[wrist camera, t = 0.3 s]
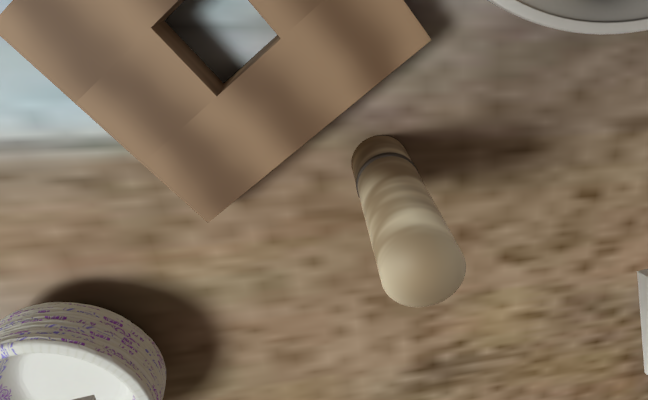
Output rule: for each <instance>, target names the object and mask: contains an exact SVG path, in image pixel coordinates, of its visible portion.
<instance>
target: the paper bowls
mask: <svg viewBox="0 0 648 400" xmlns="http://www.w3.org/2000/svg"><path fill="white" fill-rule="evenodd" d="M165 386H166V367H165V362H164V360H163V356H162V355H161V352H160V350H159V349H158V347H157V346H156V344H155V342H153V340H152V339H151V338H150V337H149V336H148V335H147V334H146V333H144V331H143V330H141V329H140V328H139V327H138V326H136V325H135V324H133V323H132V322H131V321H130V320H127V319H126V318H124V317H123V316H121V315H118V314H116V313H114V312H112V311H109V310H107V309H104V308H101V307H97V306H93V305H88V304H80V303H73V302H47V303H42V304H37V305H34V306H29V307H26V308H23V309H20V310H18V311H15V312H13V313H11V314H9V315H8V316H6V317H5V318H3V319H2V320H0V400H73V399H77V398H81V397H86V396H90V395H95V398H96V400H163V397H164V391H165Z"/></svg>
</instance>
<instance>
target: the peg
mask: <svg viewBox="0 0 648 400" xmlns="http://www.w3.org/2000/svg"><path fill="white" fill-rule="evenodd" d="M352 170H353V174H354V178H355V182H356V188H357V192H358V196H359V198H360V201H361V205H362V209H363V213H364V217H365V221H366V224H367V228H368V232H369V236H370V240H371V244H372V248H373V252H374V255H375V259H376V263H377V267H378V271H379V275H380V279H381V283H382V286H383V288H384V290H385V292H386V293H387V294H388V296H389V297H391V298H392V299H393V300H394V301H396V302H398V303H400V304H402V305H405V306H410V307H427V306H431V305H435V304H437V303H440V302H442V301H444V300H445V299H447V298H448V297H450V296H451V295H452V294H453V293H454V292H455V291H456V290H457V289H458V288H459V286H460V285H461V283H462V281H463V279H464V276H465V272H466V262H465V258H464V256H463V254H462V252H461V250H460V248H459V246H458V244H457V243H456V241H455V239H454V237H453V235H452V234H451V232H450V230H449V228H448V226H447V224H446V223H445V221H444V219H443V217H442V215H441V214H440V212H439V210H438V208H437V206H436V204H435V203H434V201H433V199H432V197H431V195H430V193H429V192H428V190H427V188H426V186H425V184H424V183H423V181H422V179H421V177H420V175H419V172H418V170H417V168H416V167H415V165H414V163H413V162H412V161H411V159H410V157H409V155H408V153H407V152H406V150H405V148H404V146H403V145H402V144H401V143H400V142H399V141H398V140H396V139H395V138H392V137H390V136H384V135H379V136H373V137H370V138H368V139H366V140H365V141H363V142H362V143H361V144H360V145H359V146H358V147H357V148H356V150H355V152H354V154H353V156H352Z"/></svg>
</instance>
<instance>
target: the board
mask: <svg viewBox="0 0 648 400" xmlns="http://www.w3.org/2000/svg"><path fill="white" fill-rule="evenodd" d="M183 1H184V0H13V1H12V2H11V3H10V4H9V5H8V6H7V8H6V9H5V10H4V11H3V12H2V13H1V14H0V36H1V37H2V38H3V39H4V40H5V41H7V42H8V43H9V44H10V45H11V46H12V47H13V48H14V49H15V50H17V51H18V52H19V53H20V54H21V55H22V56H23V57H24V58H25V59H27V60H28V61H29V62H30V63H31V64H32V65H33V66H34V67H35V68H37V69H38V70H39V71H40V72H41V73H42V74H43V75H44V76H45V77H47V78H48V79H49V80H50V81H51V82H52V83H53V84H54V85H55V86H56V87H58V88H59V89H60V90H61V91H62V92H63V93H64V94H65V95H66V96H68V97H69V98H70V99H71V100H72V101H73V102H74V103H75V104H76V105H78V106H79V107H80V108H81V109H82V110H83V111H84V112H85V113H86V114H88V115H89V116H90V117H91V118H92V119H93V120H94V121H95V122H96V123H98V124H99V125H100V126H101V127H102V128H103V129H104V130H105V131H106V132H108V133H109V134H110V135H111V136H112V137H113V138H114V139H115V140H116V141H118V142H119V143H120V144H121V145H122V146H123V147H124V148H125V149H126V150H128V151H129V152H130V153H131V154H132V155H133V156H134V157H135V158H136V159H138V160H139V161H140V162H141V163H142V164H143V165H144V166H145V167H146V168H148V169H149V170H150V171H151V172H152V173H153V174H154V175H155V176H156V177H158V178H159V179H160V180H161V181H162V182H163V183H164V184H165V185H166V186H168V187H169V188H170V189H171V190H172V191H173V192H174V193H175V194H176V195H178V196H179V197H180V198H181V199H182V200H183V201H184V202H185V203H186V204H188V205H189V206H190V207H191V208H192V209H193V210H194V211H195V212H196V213H198V214H199V215H200V216H201V217H202V218H203V219H204V220H205V221H206V222H210V221H211V220H212V219H213V218H214V217H216V216H217V215H218V214H219V213H221V212H222V211H223V210H224V209H225V208H227V207H228V206H229V205H230V204H232V203H233V202H234V201H235V200H236V199H238V198H239V197H240V196H241V195H243V194H244V193H245V192H246V191H247V190H249V189H250V188H251V187H252V186H254V185H255V184H256V183H257V182H258V181H260V180H261V179H262V178H263V177H264V176H266V175H267V174H268V173H269V172H271V171H272V170H273V169H274V168H275V167H277V166H278V165H279V164H280V163H282V162H283V161H284V160H285V159H286V158H288V157H289V156H290V155H291V154H293V153H294V152H295V151H296V150H297V149H299V148H300V147H301V146H302V145H304V144H305V143H306V142H307V141H308V140H310V139H311V138H312V137H313V136H315V135H316V134H317V133H318V132H319V131H321V130H322V129H323V128H324V127H326V126H327V125H328V124H329V123H330V122H332V121H333V120H334V119H335V118H337V117H338V116H339V115H340V114H341V113H343V112H344V111H345V110H346V109H348V108H349V107H350V106H351V105H352V104H354V103H355V102H356V101H357V100H359V99H360V98H361V97H362V96H363V95H365V94H366V93H367V92H368V91H370V90H371V89H372V88H373V87H374V86H376V85H377V84H378V83H379V82H381V81H382V80H383V79H384V78H385V77H387V76H388V75H389V74H390V73H392V72H393V71H394V70H395V69H396V68H398V67H399V66H400V65H401V64H403V63H404V62H405V61H406V60H407V59H409V58H410V57H411V56H412V55H414V54H415V53H416V52H417V51H418V50H420V49H421V48H422V47H423V46H425V45H426V44H427V43H428V42H429V41H431V38H430V37H429V36H428V34H427V33H426V31H425V30H424V29H423V27H422V26H421V24H420V23H419V22H418V20H417V19H416V17H415V16H414V14H413V13H412V12H411V10H410V9H409V7H408V6H407V5H406V3H405V2H404V0H248V1H249V2H250V3H251V4H252V5H253V6H254V8H255V9H256V10H257V11H258V12H259V14H260V15H261V16H262V17H263V18H264V19H265V21H266V22H267V23H268V24H269V25H270V26H271V28H272V29H273V30H274V31H275V32H276V34H277V36H276V37H275V38H274V39H272V40H271V41H270V42H269V43H268V44H267V45H266V46H265V47H264V48H263V49H261V50H260V51H259V52H258V53H257V54H256V55H255V56H254V57H253V58H252V59H250V60H249V61H248V62H247V63H246V64H245V65H244V66H243V67H242V68H241V69H239V70H238V71H237V72H236V73H235V74H234V75H233V76H232V77H231V78H230V79H228V80H227V81H226V82H225V83H223V82H222V81H221V80H220V79H219V78H218V77H217V76H216V75H215V74H214V73H213V72H212V71H211V70H210V68H209V67H208V66H207V65H206V64H205V63H204V62H203V61H202V60H201V59H200V58H199V57H198V56H197V55H196V54H195V53H194V52H193V50H192V49H191V48H190V47H189V46H188V45H187V44H186V43H185V42H184V41H183V40H182V39H181V38H180V37H179V36H178V35H177V33H176V32H175V31H174V30H173V29H172V28H171V27H170V26H169V25H168V24H167V23H166V22H165V21H164V20H165V19H166V18H167V17H168V16H169V15H170V14H171V13H172V12H173V11H174V10H175V9H176V8H177V7H178V6H179V5H180V4H181V3H182V2H183Z"/></svg>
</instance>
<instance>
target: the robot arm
mask: <svg viewBox="0 0 648 400" xmlns="http://www.w3.org/2000/svg"><path fill="white" fill-rule="evenodd" d="M637 274H638V288H639V302H640V315H641V329H642V343H643V356H644V370H645V373H646V374H647V375H648V269H645V270H641V271H637ZM73 400H96V398H95V395H90V396H86V397H81V398H77V399H73Z"/></svg>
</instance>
